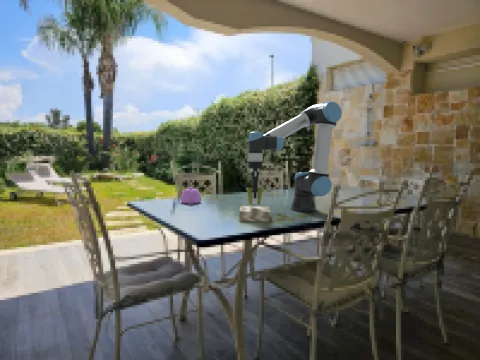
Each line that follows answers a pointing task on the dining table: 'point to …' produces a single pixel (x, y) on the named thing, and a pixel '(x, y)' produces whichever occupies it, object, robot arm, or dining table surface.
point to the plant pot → (251, 195)
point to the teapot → (191, 196)
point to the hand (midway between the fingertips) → (254, 202)
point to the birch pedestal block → (254, 213)
